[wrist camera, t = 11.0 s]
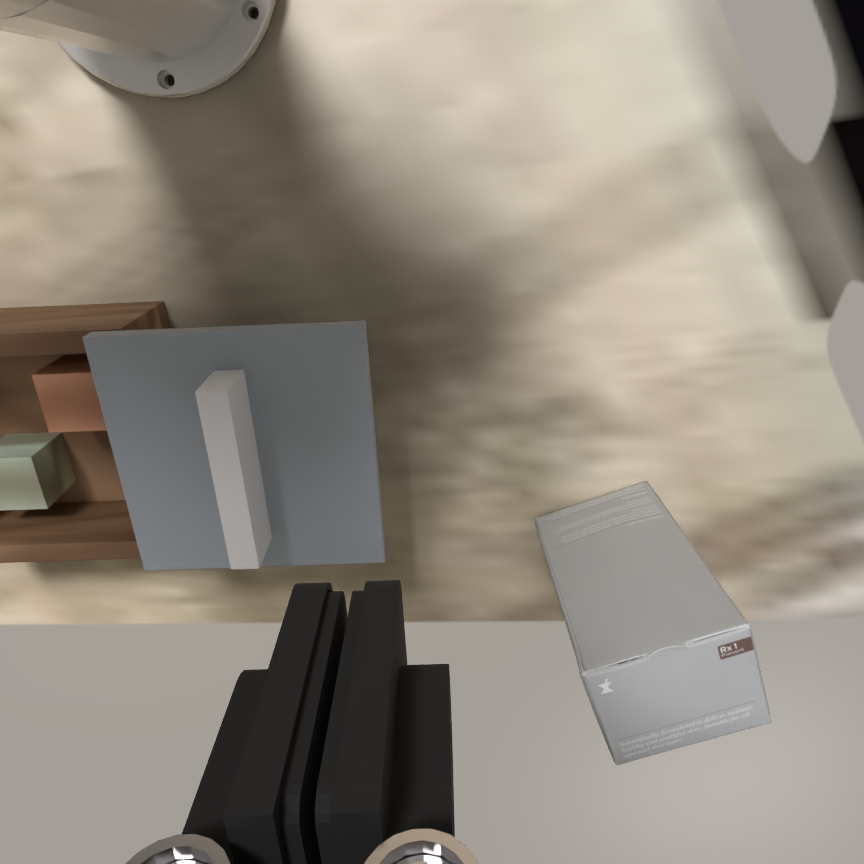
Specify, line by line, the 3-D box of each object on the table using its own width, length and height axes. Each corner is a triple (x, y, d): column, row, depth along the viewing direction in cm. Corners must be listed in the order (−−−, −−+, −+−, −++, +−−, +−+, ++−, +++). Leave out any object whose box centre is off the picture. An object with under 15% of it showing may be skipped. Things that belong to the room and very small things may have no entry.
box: (-69, 311, 40) (-148, 340, 35) (163, 301, 40) (120, 329, 35) (3, 512, 46) (-55, 564, 41) (206, 505, 46) (175, 556, 40)
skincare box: (558, 586, 48) (609, 781, 34) (529, 505, 46) (571, 679, 31) (674, 552, 47) (780, 739, 33) (652, 466, 44) (756, 630, 30)
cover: (91, 331, 34) (50, 356, 31) (365, 320, 34) (357, 343, 30) (151, 560, 40) (122, 603, 36) (386, 552, 40) (380, 595, 36)
